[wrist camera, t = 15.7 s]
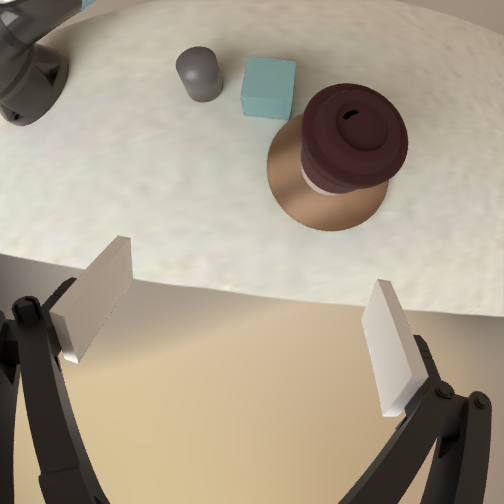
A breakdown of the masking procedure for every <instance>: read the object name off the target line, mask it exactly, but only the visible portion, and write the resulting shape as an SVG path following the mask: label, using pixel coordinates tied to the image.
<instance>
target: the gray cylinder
mask: <svg viewBox="0 0 504 504" xmlns="http://www.w3.org/2000/svg"><path fill="white" fill-rule="evenodd" d="M176 69H177V72H178V74H179V76H180V78H181V80H182V82H183V84H184V86H185V88H186V90H187V92H188V94H189V96H190V97H191V98H192V99H193V100H195V101H198V102H209V101H211V100H214V99H215V98H217V97H218V96H219V95H220V93H221V91H222V89H223V83H222V79H221V75H220V71H219V67H218V64H217V60H216V56H215V54H214V52H213V51H212V50H210V49H209V48H206V47H200V46H199V47H193V48H190V49H187V50H186V51H184V52H183V53H182V54H181V55H180V56H179V57H178V59H177V61H176Z"/></svg>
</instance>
